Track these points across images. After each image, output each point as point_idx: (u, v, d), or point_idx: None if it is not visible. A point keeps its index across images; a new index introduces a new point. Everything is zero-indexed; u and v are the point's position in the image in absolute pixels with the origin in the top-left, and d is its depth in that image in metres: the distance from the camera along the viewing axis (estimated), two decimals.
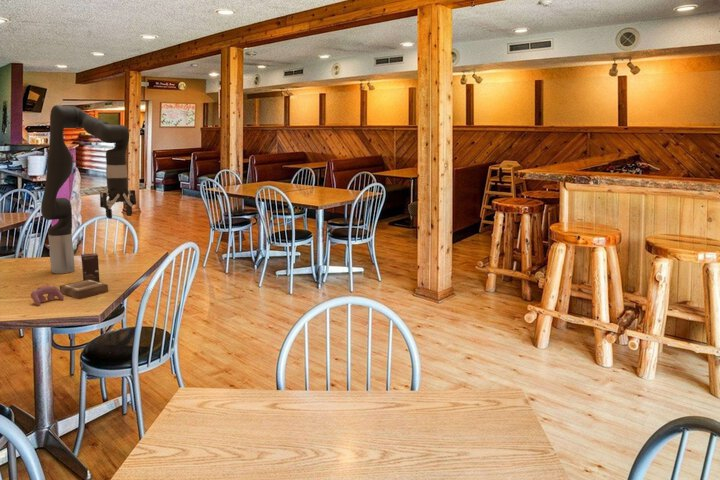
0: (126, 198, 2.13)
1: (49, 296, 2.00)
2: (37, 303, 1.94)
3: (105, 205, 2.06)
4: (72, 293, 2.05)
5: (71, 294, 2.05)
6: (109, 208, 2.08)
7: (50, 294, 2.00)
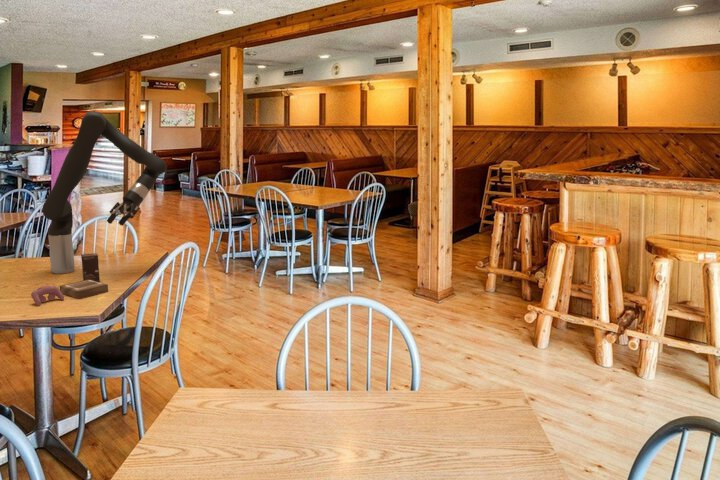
0: None
1: (49, 296, 2.00)
2: (37, 303, 1.94)
3: None
4: (72, 293, 2.05)
5: (71, 294, 2.05)
6: (128, 218, 2.32)
7: (50, 294, 2.00)
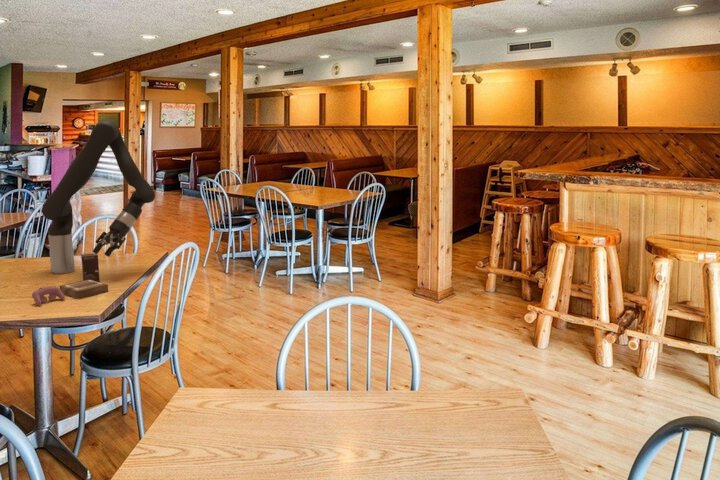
0: None
1: (50, 296, 2.00)
2: (38, 303, 1.94)
3: None
4: (72, 293, 2.05)
5: (71, 294, 2.05)
6: (114, 249, 2.28)
7: (51, 294, 2.00)
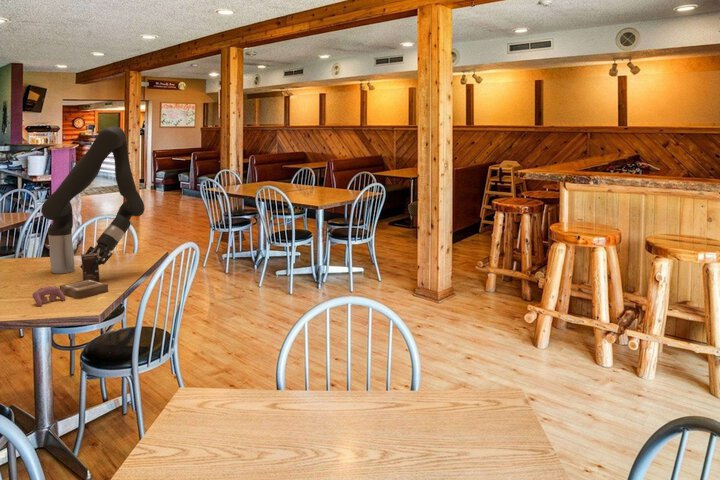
0: None
1: (51, 297, 1.99)
2: (39, 304, 1.93)
3: None
4: (72, 293, 2.05)
5: (71, 294, 2.05)
6: (100, 264, 2.24)
7: (52, 295, 2.00)
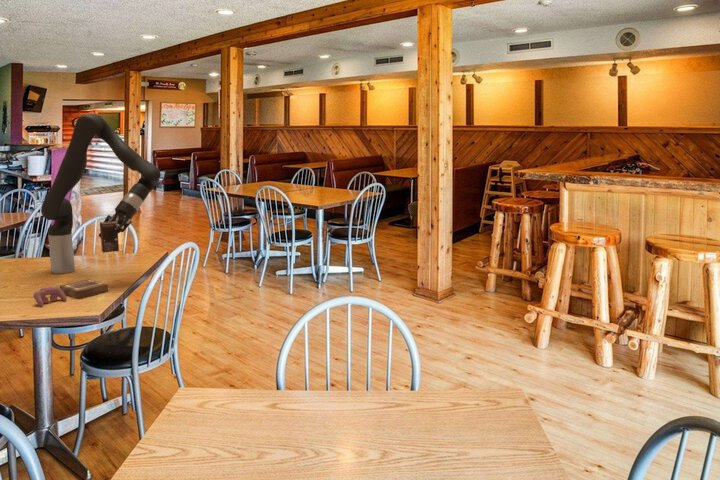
0: None
1: (52, 297, 1.99)
2: (40, 304, 1.93)
3: None
4: (72, 293, 2.05)
5: (71, 294, 2.05)
6: (118, 232, 2.17)
7: (53, 295, 1.99)
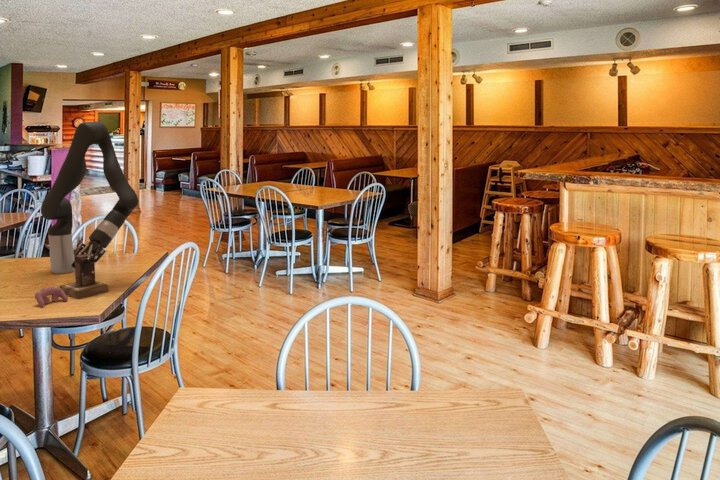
0: None
1: (53, 297, 1.98)
2: (41, 304, 1.93)
3: None
4: (72, 293, 2.05)
5: (71, 294, 2.05)
6: (92, 262, 2.09)
7: (54, 295, 1.99)
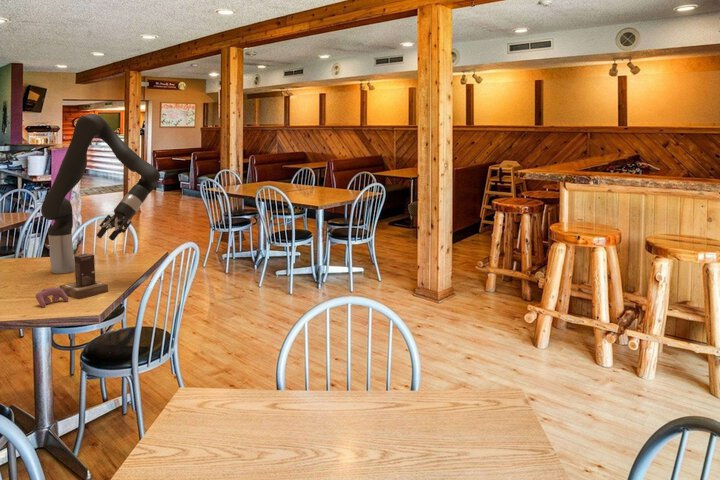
0: None
1: (54, 298, 1.98)
2: (42, 305, 1.92)
3: None
4: (72, 293, 2.05)
5: (71, 294, 2.05)
6: (119, 233, 2.16)
7: (55, 296, 1.99)
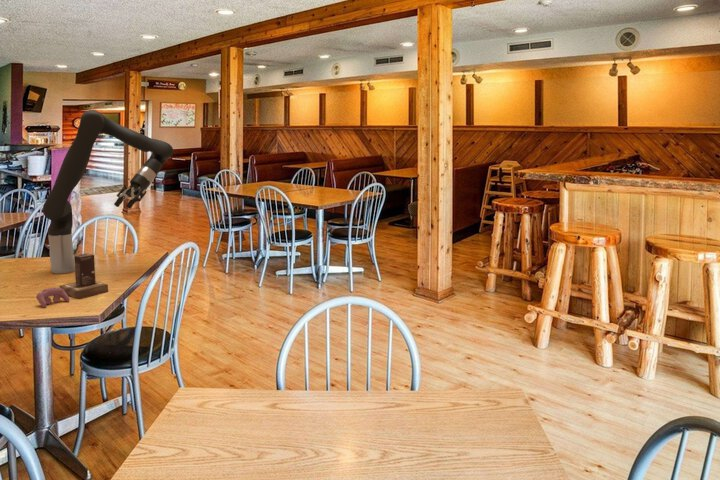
0: None
1: (55, 298, 1.98)
2: (43, 305, 1.92)
3: None
4: (72, 293, 2.05)
5: (71, 294, 2.05)
6: None
7: (56, 296, 1.98)
